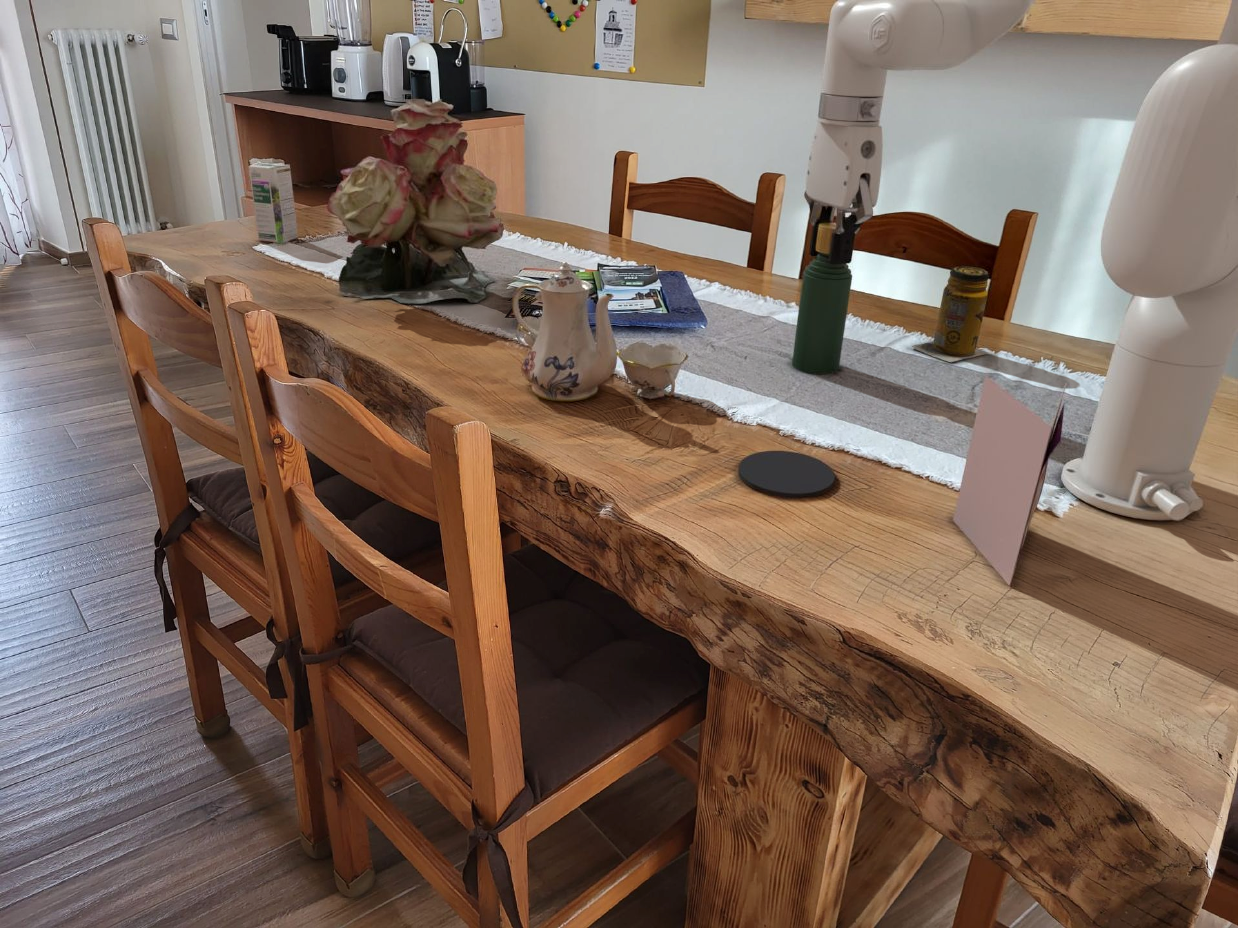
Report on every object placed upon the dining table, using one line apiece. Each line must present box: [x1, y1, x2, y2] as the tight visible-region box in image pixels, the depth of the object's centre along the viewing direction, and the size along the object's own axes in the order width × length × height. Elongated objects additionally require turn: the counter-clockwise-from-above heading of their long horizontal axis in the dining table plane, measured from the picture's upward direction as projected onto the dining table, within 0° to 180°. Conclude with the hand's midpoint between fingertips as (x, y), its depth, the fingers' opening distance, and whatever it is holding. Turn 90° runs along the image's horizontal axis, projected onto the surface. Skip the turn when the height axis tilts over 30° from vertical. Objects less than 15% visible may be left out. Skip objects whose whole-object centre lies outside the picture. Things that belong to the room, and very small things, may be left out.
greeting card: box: [952, 374, 1067, 587], centre depth 81 cm, size 11×7×15 cm, turn 151°
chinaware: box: [511, 261, 689, 403], centre depth 115 cm, size 28×17×17 cm, turn 56°
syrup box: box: [248, 162, 299, 244], centre depth 180 cm, size 6×6×14 cm
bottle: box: [791, 253, 853, 375], centre depth 123 cm, size 6×6×19 cm
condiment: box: [910, 265, 990, 363], centre depth 132 cm, size 7×8×12 cm
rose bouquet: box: [326, 97, 505, 305], centre depth 150 cm, size 26×29×30 cm
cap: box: [816, 222, 836, 254], centre depth 119 cm, size 4×4×3 cm
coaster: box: [737, 450, 836, 500], centre depth 96 cm, size 10×10×1 cm
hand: (829, 258), depth 120 cm, fingers closed on cap, 3 cm apart
